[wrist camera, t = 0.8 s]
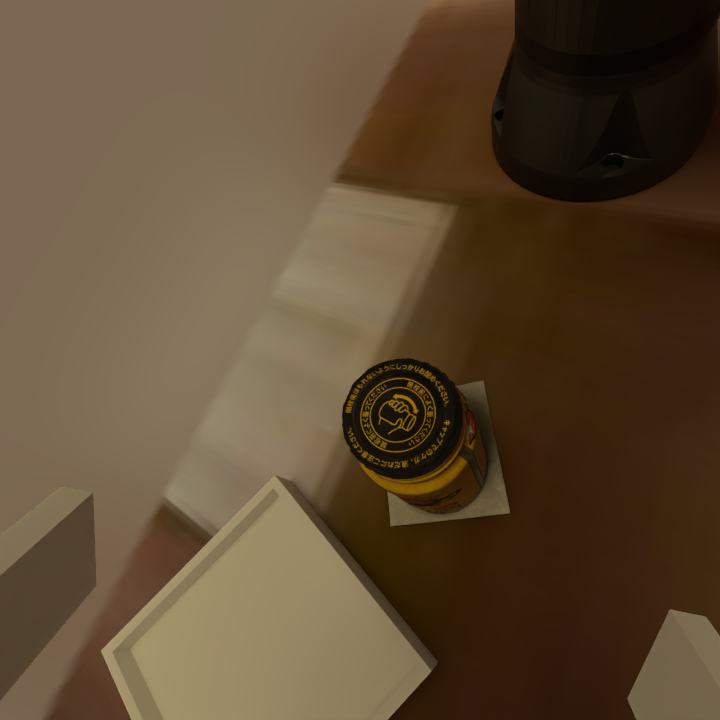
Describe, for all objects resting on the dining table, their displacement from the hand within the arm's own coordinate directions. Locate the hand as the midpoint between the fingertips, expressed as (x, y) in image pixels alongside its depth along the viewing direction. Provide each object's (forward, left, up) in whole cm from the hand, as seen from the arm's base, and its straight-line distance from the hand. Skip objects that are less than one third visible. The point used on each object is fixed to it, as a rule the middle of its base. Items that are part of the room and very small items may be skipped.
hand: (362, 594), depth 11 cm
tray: (+11, -5, -19) cm, 22 cm away
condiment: (-5, -6, -19) cm, 21 cm away
